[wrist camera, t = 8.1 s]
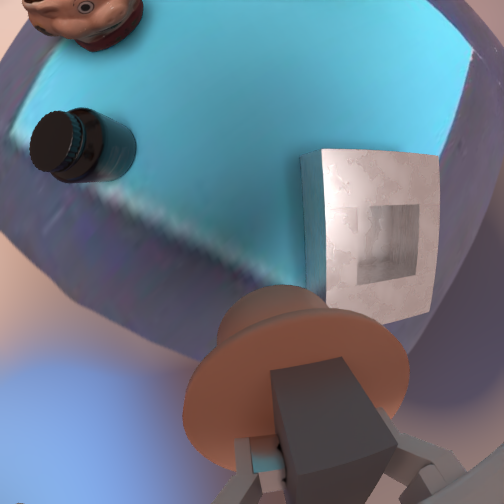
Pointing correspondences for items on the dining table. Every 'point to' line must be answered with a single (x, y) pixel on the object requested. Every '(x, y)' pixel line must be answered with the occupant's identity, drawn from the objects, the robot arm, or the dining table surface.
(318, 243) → the housing
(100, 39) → the brown ceramic cup shape
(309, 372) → the end cover
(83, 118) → the supplement bottle
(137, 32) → the dining table surface
